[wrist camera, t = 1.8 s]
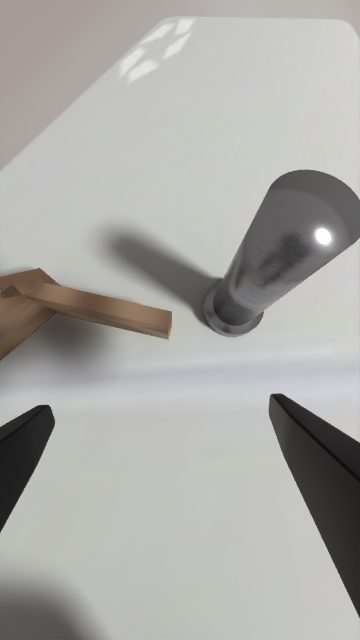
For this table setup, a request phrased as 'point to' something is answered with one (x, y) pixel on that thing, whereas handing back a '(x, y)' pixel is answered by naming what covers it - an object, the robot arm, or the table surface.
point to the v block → (67, 309)
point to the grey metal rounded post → (283, 247)
